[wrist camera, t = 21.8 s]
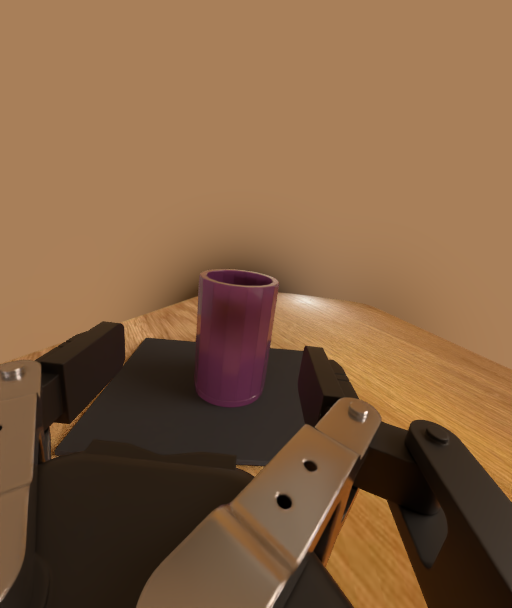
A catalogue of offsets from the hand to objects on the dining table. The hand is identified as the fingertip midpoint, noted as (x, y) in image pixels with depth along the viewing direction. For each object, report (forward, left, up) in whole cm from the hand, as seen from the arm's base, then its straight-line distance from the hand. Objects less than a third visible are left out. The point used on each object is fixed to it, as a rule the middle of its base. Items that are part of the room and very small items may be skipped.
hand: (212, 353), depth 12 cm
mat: (+1, +11, -9) cm, 14 cm away
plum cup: (+1, +10, -9) cm, 14 cm away
